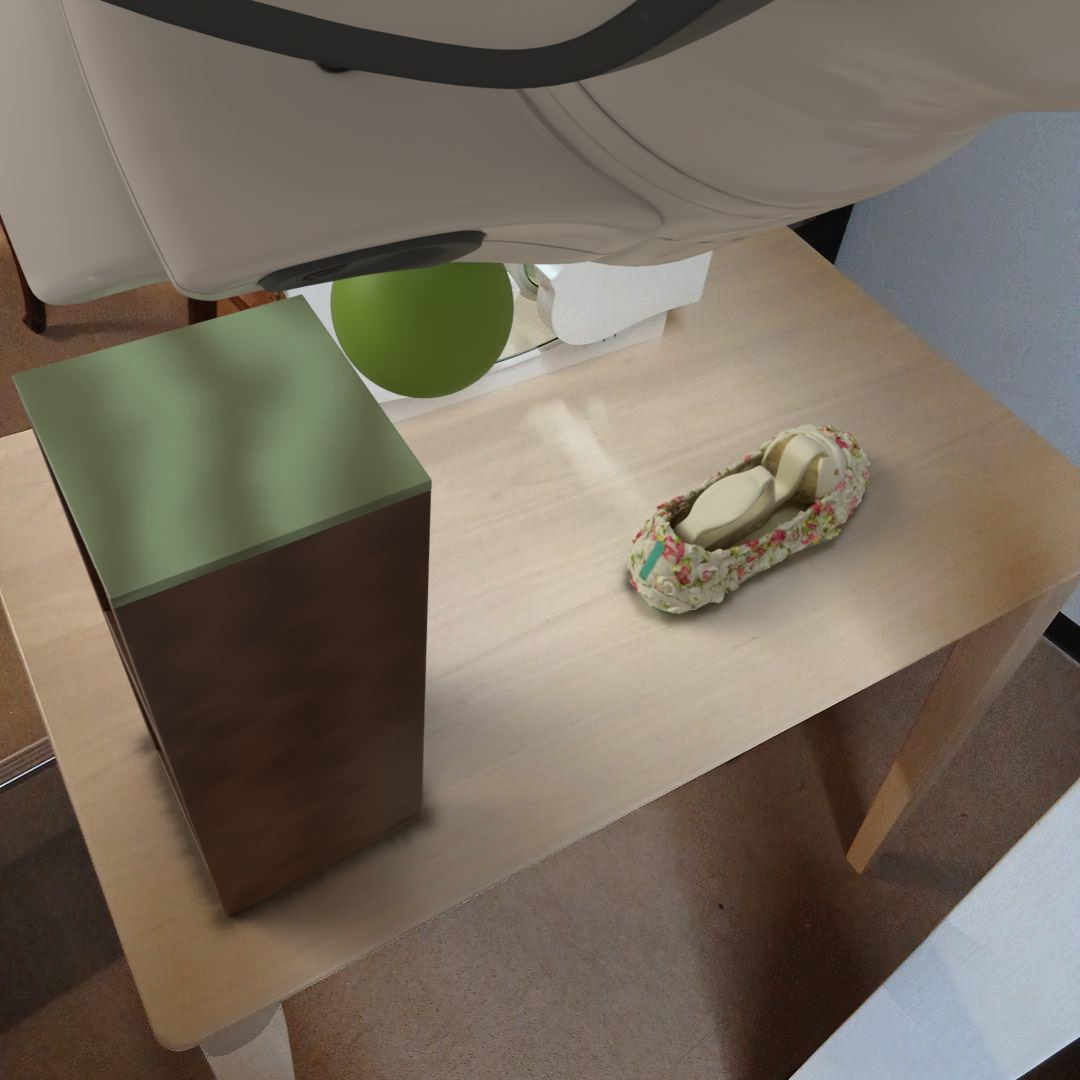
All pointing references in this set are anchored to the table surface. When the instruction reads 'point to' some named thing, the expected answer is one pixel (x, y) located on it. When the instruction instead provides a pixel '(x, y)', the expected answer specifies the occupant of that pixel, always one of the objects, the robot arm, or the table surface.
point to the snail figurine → (425, 325)
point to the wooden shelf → (253, 580)
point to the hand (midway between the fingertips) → (398, 182)
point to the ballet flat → (749, 517)
